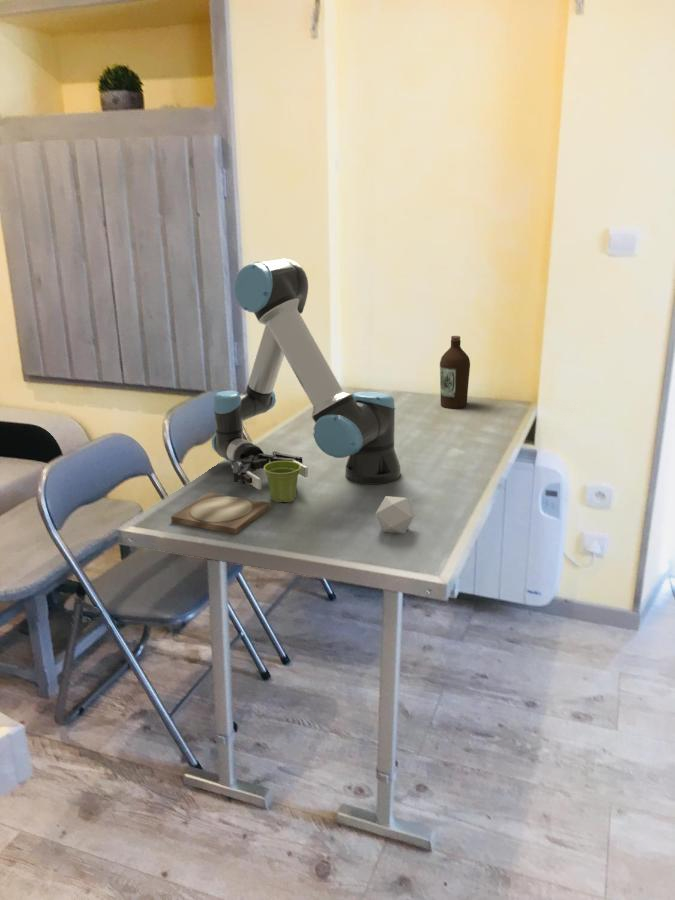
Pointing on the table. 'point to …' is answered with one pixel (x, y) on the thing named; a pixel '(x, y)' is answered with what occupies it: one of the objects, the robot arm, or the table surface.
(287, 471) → the plant pot
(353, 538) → the table surface
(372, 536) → the table surface
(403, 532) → the die
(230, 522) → the walnut board
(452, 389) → the olive oil
